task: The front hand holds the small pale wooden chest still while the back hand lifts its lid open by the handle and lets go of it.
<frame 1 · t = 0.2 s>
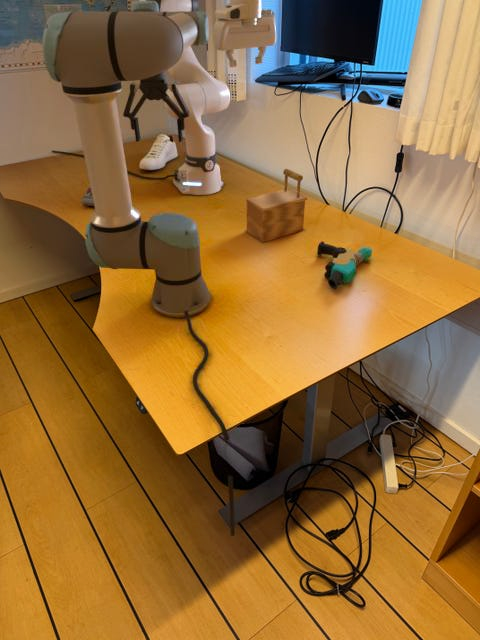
front hand: (159, 140, 150), 28 cm above the table, tool pointing down, fingers open, 13 cm apart
back hand: (246, 65, 143), 48 cm above the table, tool pointing down, fingers open, 8 cm apart
chest: (274, 230, 160), on the table
lid: (277, 188, 152), point 15 cm above the table, hinge at 0.0°
toy gun: (108, 202, 182), on the table
toy gun 2: (335, 270, 138), on the table
sneaker: (158, 164, 218), on the table
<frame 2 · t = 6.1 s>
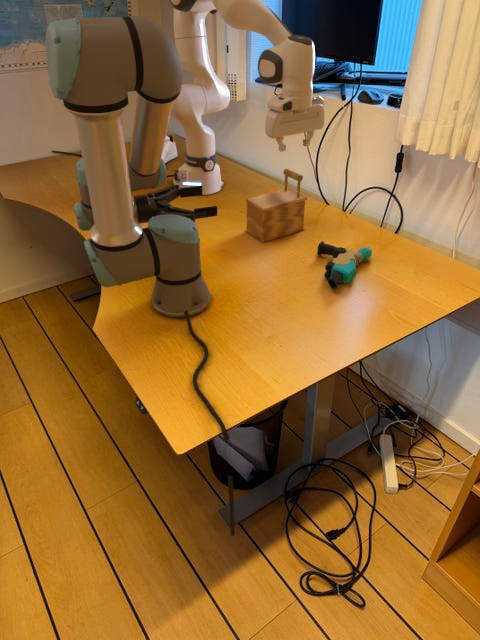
front hand: (209, 200, 136), 18 cm above the table, tool horizontal, fingers open, 13 cm apart
back hand: (294, 148, 147), 26 cm above the table, tool pointing down, fingers open, 8 cm apart
nothing on the table moved.
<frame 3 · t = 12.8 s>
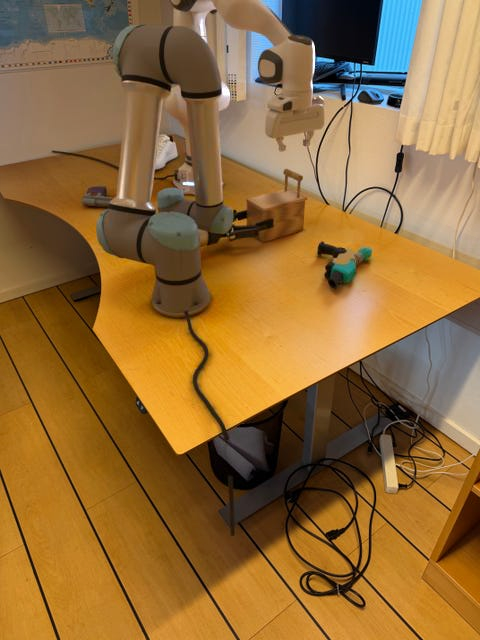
front hand: (263, 217, 154), 6 cm above the table, tool horizontal, fingers closed on chest, 10 cm apart
back hand: (294, 148, 147), 26 cm above the table, tool pointing down, fingers open, 8 cm apart
chest: (274, 230, 160), on the table, touching front hand
everything else where it was.
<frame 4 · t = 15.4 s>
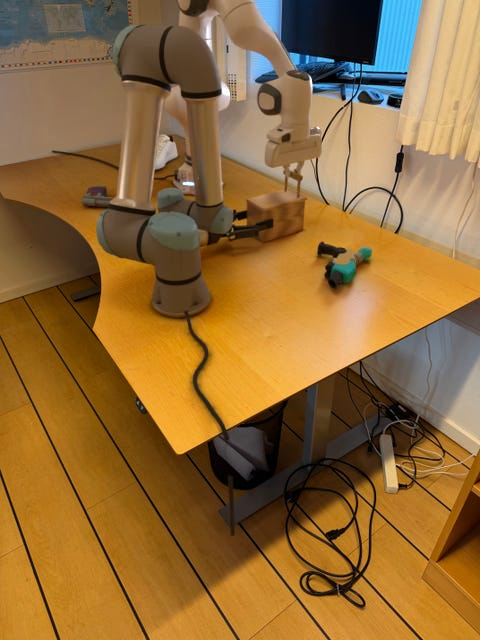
front hand: (263, 217, 154), 6 cm above the table, tool horizontal, fingers closed on chest, 10 cm apart
back hand: (292, 175, 153), 17 cm above the table, tool pointing down, fingers closed on lid, 2 cm apart
chest: (274, 230, 160), on the table, touching front hand
lid: (277, 188, 152), point 15 cm above the table, hinge at 0.0°, touching back hand
everything else where it was.
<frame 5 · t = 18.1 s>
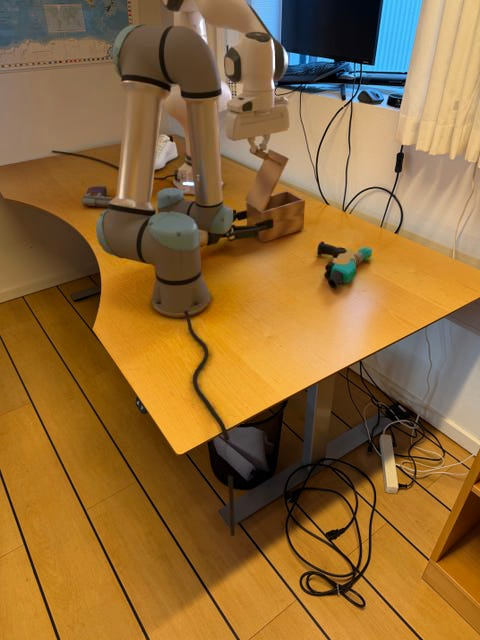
front hand: (263, 217, 154), 6 cm above the table, tool horizontal, fingers closed on chest, 10 cm apart
back hand: (258, 151, 140), 28 cm above the table, tool pointing down, fingers closed, pressing on lid
chest: (275, 230, 160), on the table, touching front hand
lid: (257, 176, 145), point 20 cm above the table, hinge at 57.7°, touching back hand
everything else where it was.
when the front hand's fingers open (6 cm above the table, at t = 23.2 s): chest stays where it is, on the table.
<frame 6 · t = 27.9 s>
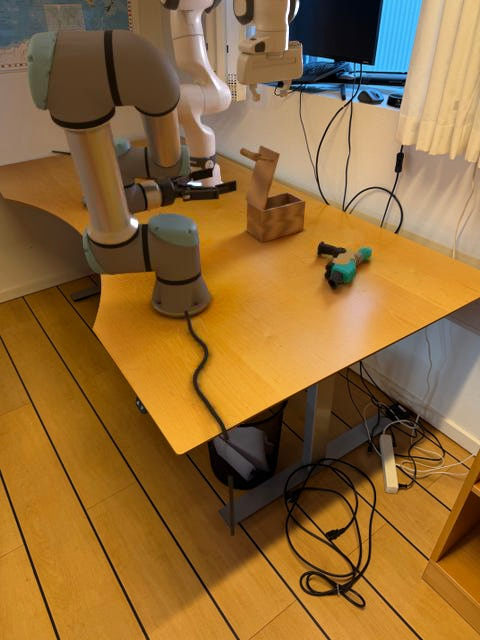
front hand: (223, 178, 139), 22 cm above the table, tool horizontal, fingers open, 13 cm apart
back hand: (270, 99, 134), 41 cm above the table, tool pointing down, fingers open, 8 cm apart
chest: (275, 230, 160), on the table
lid: (252, 176, 144), point 20 cm above the table, hinge at 72.0°
everything else where it was.
at the end: lid at +72° (first picture: +0°); the front hand is holding nothing; the back hand is holding nothing; chest tilted 0°; chest never tilted more than 3° during the clip; chest moved 0.1 cm from its start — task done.
